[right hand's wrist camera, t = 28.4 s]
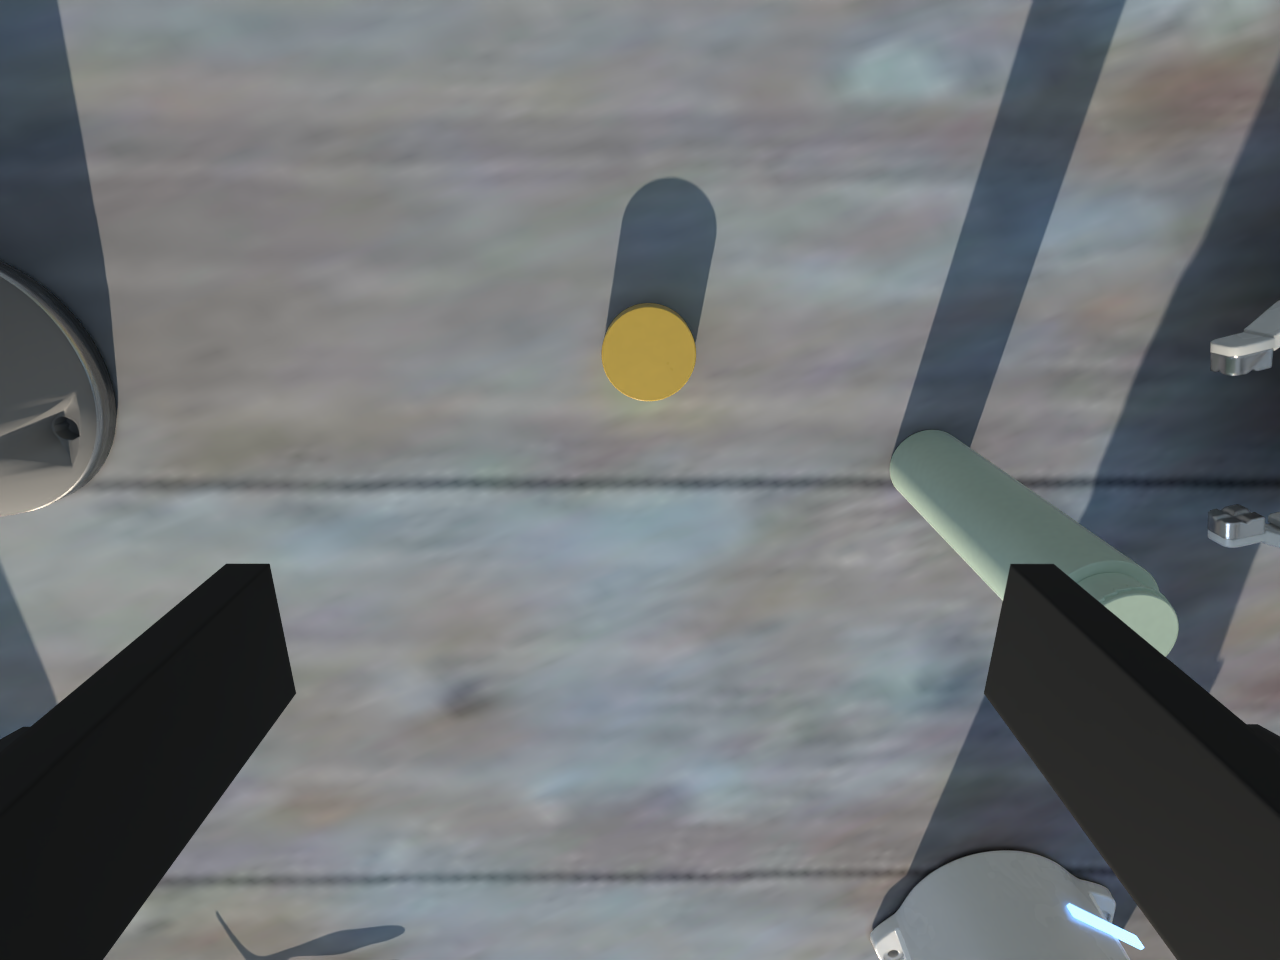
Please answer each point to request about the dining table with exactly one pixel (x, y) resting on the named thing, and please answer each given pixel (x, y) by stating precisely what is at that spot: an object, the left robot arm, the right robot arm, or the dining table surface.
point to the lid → (648, 352)
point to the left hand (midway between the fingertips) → (1217, 448)
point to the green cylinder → (1022, 531)
